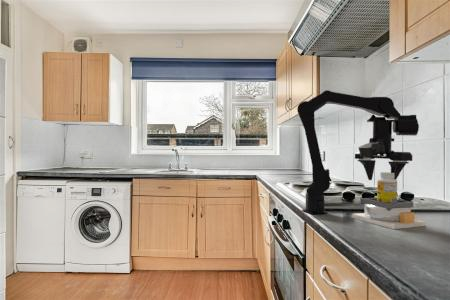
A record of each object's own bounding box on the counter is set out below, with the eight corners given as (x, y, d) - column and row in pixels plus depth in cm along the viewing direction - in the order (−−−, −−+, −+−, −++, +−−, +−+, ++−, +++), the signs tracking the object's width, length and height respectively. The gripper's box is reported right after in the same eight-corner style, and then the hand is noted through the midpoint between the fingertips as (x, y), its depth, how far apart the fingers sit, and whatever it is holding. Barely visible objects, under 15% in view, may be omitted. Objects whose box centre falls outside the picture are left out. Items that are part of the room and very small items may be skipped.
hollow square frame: (355, 214, 104) (355, 198, 104) (384, 212, 109) (384, 196, 109) (393, 224, 91) (393, 205, 91) (424, 221, 96) (425, 203, 96)
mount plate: (351, 217, 105) (351, 213, 105) (380, 215, 110) (380, 211, 110) (394, 229, 91) (394, 224, 91) (425, 225, 96) (425, 221, 96)
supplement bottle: (376, 202, 104) (377, 171, 104) (395, 204, 102) (396, 172, 102) (377, 205, 99) (377, 172, 99) (397, 207, 97) (398, 173, 97)
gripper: (343, 135, 113) (342, 179, 113) (388, 133, 96) (387, 185, 96) (367, 136, 117) (366, 178, 117) (414, 134, 100) (413, 184, 100)
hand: (381, 181), depth 108 cm, fingers open, 9 cm apart
